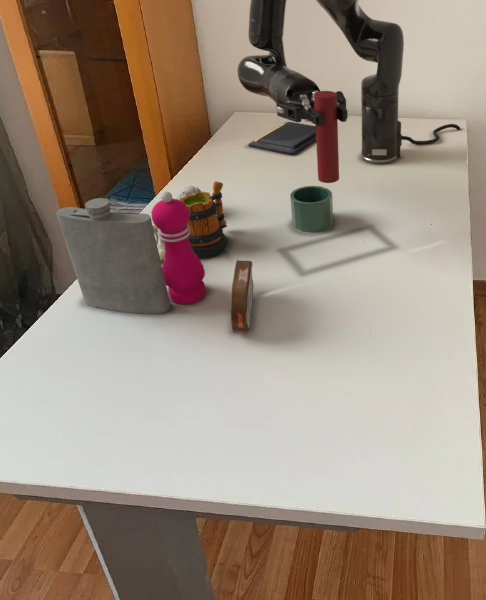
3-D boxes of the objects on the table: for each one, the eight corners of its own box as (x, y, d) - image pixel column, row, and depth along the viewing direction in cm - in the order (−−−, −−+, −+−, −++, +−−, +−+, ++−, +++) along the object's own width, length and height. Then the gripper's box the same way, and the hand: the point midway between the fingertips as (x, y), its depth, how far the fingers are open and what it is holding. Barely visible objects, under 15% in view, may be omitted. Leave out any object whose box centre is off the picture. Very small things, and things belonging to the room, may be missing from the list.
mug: (208, 264, 120) (199, 210, 114) (167, 252, 124) (155, 199, 117) (248, 235, 130) (241, 183, 123) (208, 224, 134) (200, 174, 127)
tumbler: (322, 212, 138) (320, 182, 134) (340, 228, 132) (339, 197, 128) (286, 220, 135) (283, 191, 131) (303, 237, 129) (300, 207, 125)
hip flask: (173, 303, 110) (150, 200, 98) (163, 317, 106) (138, 211, 95) (91, 294, 112) (59, 191, 101) (78, 307, 109) (44, 203, 97)
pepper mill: (216, 287, 114) (197, 186, 102) (193, 309, 108) (171, 205, 97) (182, 280, 116) (160, 180, 104) (158, 301, 110) (132, 198, 99)
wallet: (292, 149, 164) (245, 139, 170) (293, 156, 165) (246, 146, 171) (331, 125, 178) (286, 117, 184) (331, 132, 179) (287, 124, 185)
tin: (239, 291, 113) (234, 250, 108) (257, 290, 113) (252, 249, 108) (232, 343, 101) (225, 300, 96) (252, 342, 101) (246, 299, 96)
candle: (333, 172, 121) (330, 89, 112) (342, 180, 118) (340, 95, 109) (314, 177, 120) (310, 92, 111) (323, 184, 117) (319, 99, 108)
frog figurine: (188, 225, 134) (182, 195, 130) (173, 213, 138) (167, 184, 134) (213, 216, 137) (208, 186, 133) (198, 205, 141) (192, 176, 137)
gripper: (327, 106, 127) (368, 132, 115) (261, 117, 121) (297, 146, 109) (325, 68, 123) (368, 91, 111) (257, 78, 117) (294, 103, 105)
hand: (332, 118), depth 110 cm, fingers closed on candle, 4 cm apart
